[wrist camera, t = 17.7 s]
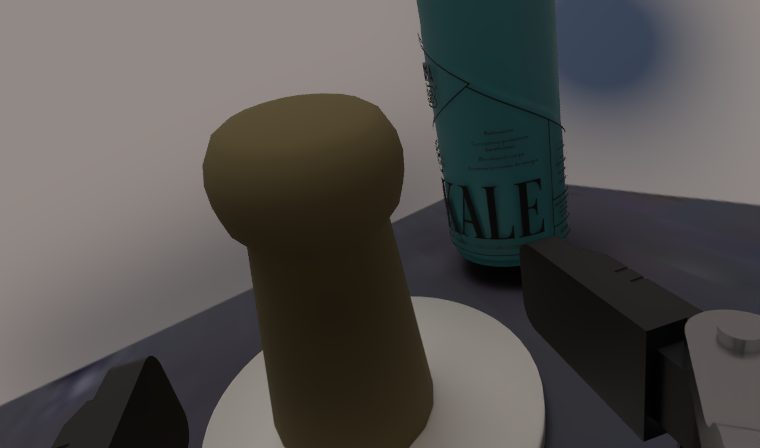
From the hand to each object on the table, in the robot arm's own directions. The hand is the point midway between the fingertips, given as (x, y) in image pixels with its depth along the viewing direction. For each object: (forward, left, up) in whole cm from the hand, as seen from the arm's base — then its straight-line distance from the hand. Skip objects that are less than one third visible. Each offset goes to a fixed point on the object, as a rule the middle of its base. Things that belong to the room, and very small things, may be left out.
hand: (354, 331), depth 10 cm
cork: (-1, +5, -6) cm, 8 cm away
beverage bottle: (+10, +13, -8) cm, 18 cm away
